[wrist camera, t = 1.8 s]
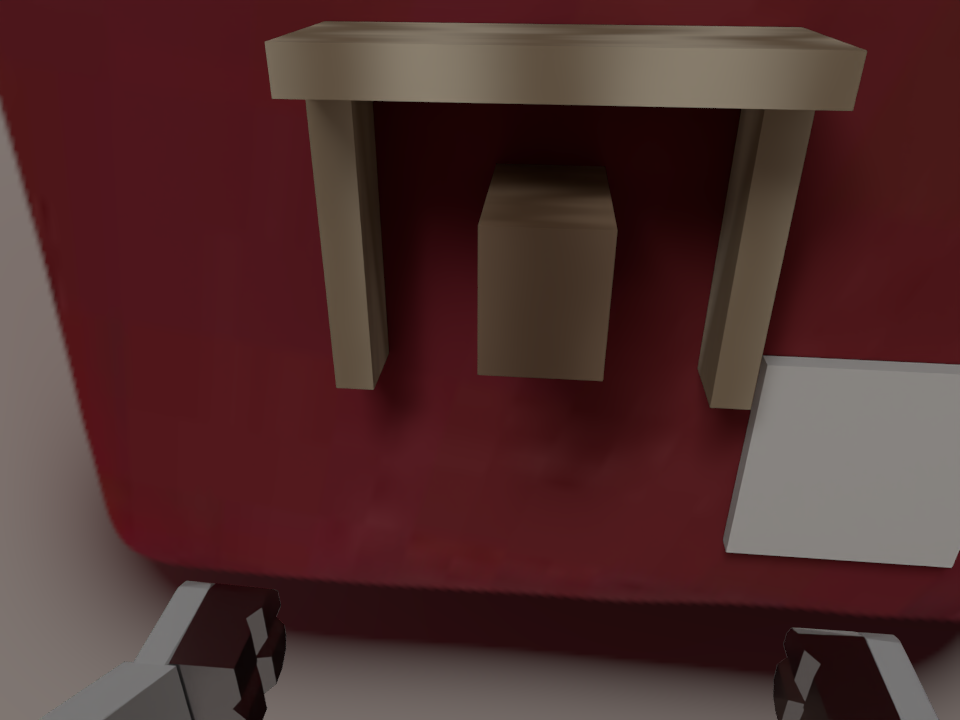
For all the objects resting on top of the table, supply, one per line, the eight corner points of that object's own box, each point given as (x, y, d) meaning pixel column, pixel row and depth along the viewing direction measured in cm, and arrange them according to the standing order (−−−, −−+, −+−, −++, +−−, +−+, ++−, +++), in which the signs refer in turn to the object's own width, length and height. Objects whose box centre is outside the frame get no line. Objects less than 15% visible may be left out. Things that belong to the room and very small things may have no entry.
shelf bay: (802, 27, 24) (867, 50, 19) (734, 370, 31) (769, 457, 26) (324, 21, 26) (264, 41, 21) (354, 351, 32) (314, 430, 27)
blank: (604, 166, 27) (617, 230, 21) (594, 291, 30) (603, 381, 24) (496, 163, 28) (477, 225, 22) (494, 287, 30) (477, 374, 24)
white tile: (1021, 367, 30) (1032, 378, 29) (943, 555, 34) (951, 567, 34) (762, 355, 30) (767, 365, 30) (722, 540, 35) (726, 552, 35)
